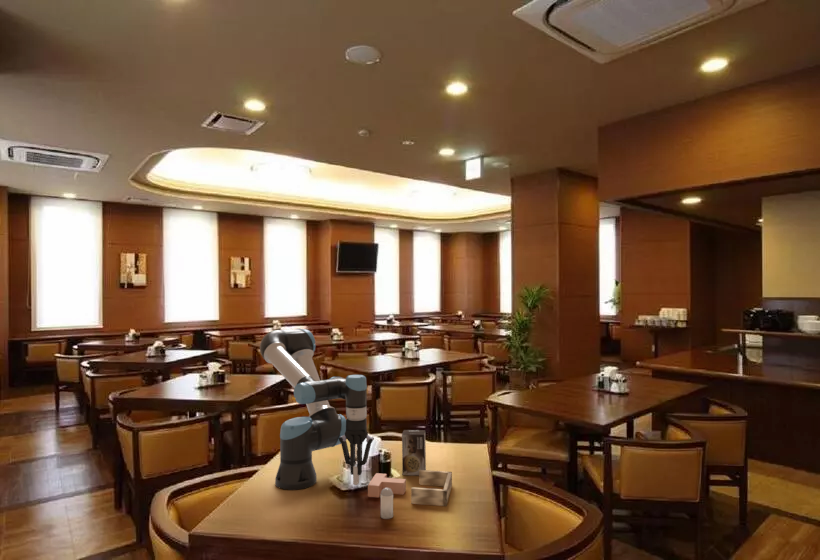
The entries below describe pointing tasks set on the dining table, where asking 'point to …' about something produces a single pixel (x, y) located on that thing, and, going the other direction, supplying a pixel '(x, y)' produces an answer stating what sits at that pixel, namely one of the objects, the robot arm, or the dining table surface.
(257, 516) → the dining table surface
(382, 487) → the t block
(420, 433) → the coffee box
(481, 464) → the dining table surface
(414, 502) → the bay
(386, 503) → the cylinder
